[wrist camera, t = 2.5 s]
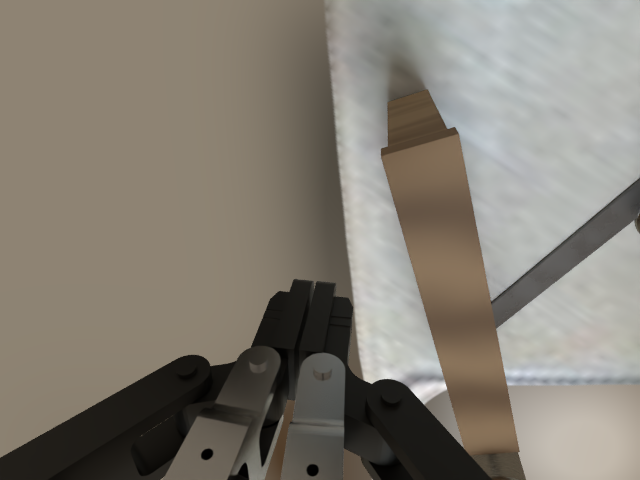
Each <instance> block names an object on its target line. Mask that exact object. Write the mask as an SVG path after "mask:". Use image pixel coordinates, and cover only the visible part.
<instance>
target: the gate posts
mask: <svg viewBox="0 0 640 480" xmlns="http://www.w3.org/2000/svg"><path fill="white" fill-rule="evenodd" d="M633 220H635V226H636V229H637V231H638V232H639V233H640V179H639V180H638V181H636V182H635V183H634V184H633V185H632V186H630V187H629V188H628V189H627V190H626V191H624V192H623V193H622V194H621V195H620V196H618V197H617V198H616V199H615V200H614V201H612V202H611V203H610V204H609V205H608V206H607V207H605V208H604V209H603V210H602V211H601V212H599V213H598V214H597V215H596V216H595V217H593V218H592V219H591V220H590V221H589V222H587V223H586V224H585V225H584V226H583V227H581V228H580V229H579V230H578V231H577V232H575V233H574V234H573V235H572V236H571V237H569V238H568V239H567V240H566V241H565V242H563V243H562V244H561V245H560V246H559V247H557V248H556V249H555V250H554V251H553V252H551V253H550V254H549V255H548V256H547V257H545V258H544V259H543V260H542V261H541V262H539V263H538V264H537V265H536V266H535V267H534V268H532V269H531V270H530V271H529V272H528V273H526V274H525V275H524V276H523V277H522V278H520V279H519V280H518V281H517V282H516V283H514V284H513V285H512V286H511V287H510V288H508V289H507V290H506V291H505V292H504V293H502V294H501V295H500V296H499V297H498V298H496V299H495V300H494V301H493V302H492V303H491V305H492V310H493V316H494V321H495V326H496V328H498V327H499V326H500V325H501V324H503V323H504V322H505V321H506V320H508V319H509V318H510V317H512V316H513V315H514V314H515V313H517V312H518V311H519V310H520V309H522V308H523V307H524V306H525V305H527V304H528V303H529V302H531V301H532V300H533V299H534V298H536V297H537V296H538V295H539V294H541V293H542V292H543V291H545V290H546V289H547V288H548V287H550V286H551V285H552V284H553V283H555V282H556V281H557V280H559V279H560V278H561V277H562V276H564V275H565V274H566V273H567V272H569V271H570V270H571V269H572V268H574V267H575V266H576V265H578V264H579V263H580V262H581V261H583V260H584V259H585V258H586V257H588V256H589V255H590V254H592V253H593V252H594V251H595V250H597V249H598V248H599V247H600V246H602V245H603V244H604V243H606V242H607V241H608V240H609V239H611V238H612V237H613V236H614V235H616V234H617V233H618V232H619V231H621V230H622V229H623V228H625V227H626V226H627V225H628V224H630V223H631V222H632V221H633ZM470 456H471V457H472V458H473V459H474V460H475V461H476V462H477V464H478V465H479V466H480V467H481V468H482V469H483V470H484V471H485V472H486V473H487V474H488V476H489V477H490V478H491V479H492V480H526V479H525V475H524V471H523V468H522V465H521V461H520V458H519V455H518V452H513V453H498V454H484V455H470Z"/></svg>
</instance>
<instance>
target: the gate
mask: <svg viewBox="0 0 640 480" xmlns="http://www.w3.org/2000/svg"><path fill="white" fill-rule="evenodd" d="M387 104H388V147H385V148H382V149H381V158H382V162H383V165H384V169H385V172H386V176H387V179H388V183H389V186H390V190H391V193H392V197H393V200H394V204H395V207H396V211H397V214H398V218H399V221H400V225H401V228H402V232H403V235H404V239H405V242H406V246H407V249H408V253H409V256H410V260H411V263H412V267H413V270H414V274H415V277H416V281H417V284H418V288H419V291H420V295H421V298H422V302H423V305H424V309H425V312H426V316H427V319H428V323H429V326H430V330H431V333H432V337H433V340H434V344H435V347H436V351H437V354H438V358H439V361H440V365H441V368H442V372H443V375H444V379H445V382H446V386H447V389H448V393H449V396H450V400H451V403H452V407H453V410H454V414H455V417H456V421H457V424H458V428H459V431H460V435H461V438H462V442H463V445H464V449H465V450H466V451H467V453H468V454H469V455H484V454H498V453H513V452H519V447H518V441H517V436H516V431H515V426H514V420H513V415H512V410H511V404H510V399H509V394H508V389H507V384H506V378H505V373H504V368H503V363H502V357H501V352H500V347H499V342H498V337H497V331H496V326H495V321H494V316H493V310H492V305H491V300H490V295H489V290H488V284H487V279H486V274H485V269H484V263H483V258H482V253H481V248H480V243H479V237H478V232H477V227H476V222H475V217H474V211H473V206H472V201H471V196H470V190H469V185H468V180H467V175H466V170H465V164H464V159H463V154H462V149H461V143H460V138H459V134H458V132H457V130H456V128H455V127H453V128H450V129H447V128H446V126H445V124H444V122H443V120H442V118H441V116H440V114H439V112H438V110H437V108H436V106H435V104H434V102H433V100H432V98H431V96H430V94H429V92H428V90H424V91H421V92H418V93H415V94H412V95H409V96H406V97H402V98H399V99H396V100H393V101H390V102H387Z"/></svg>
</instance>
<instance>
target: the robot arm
mask: <svg viewBox="0 0 640 480" xmlns="http://www.w3.org/2000/svg"><path fill="white" fill-rule="evenodd" d="M352 317H353V306H352V304H351V302H350V300H349V298H343V297H336V283H330V282H320V281H317V282H316V286H315V289H314V281H308V280H298V279H294V280H293V283H292V286H291V289H290V292H283V291H279V292H277V293H276V294H275V295H274V296H273V297H272V298H271V299H270V301H269V304H268V306H267V309H266V311H265V313H264V316H263V319H262V321H261V323H260V326H259V328H258V331H257V333H256V336H255V338H254V341H253V343H252V346H251V348H249V349H247V350H245V351H244V352H243V353H241V354H240V356H239V357H238V359H237V361H235V362H232V363H228V364H223V365H215V366H210V364H209V362H208V360H207V359H205V358H204V357H202V356H199V355H188V356H183V357H180V358H178V359H176V360H174V361H172V362H171V363H169V364H167V365H165V366H163V367H162V368H160V369H158V370H156V371H155V372H153V373H151V374H149V375H147V376H146V377H144V378H142V379H140V380H138V381H137V382H135V383H133V384H131V385H129V386H128V387H126V388H124V389H122V390H121V391H119V392H117V393H115V394H113V395H112V396H110V397H108V398H106V399H104V400H103V401H101V402H99V403H97V404H96V405H94V406H92V407H90V408H88V409H87V410H85V411H83V412H81V413H80V414H78V415H76V416H74V417H72V418H71V419H69V420H67V421H65V422H64V423H62V424H60V425H58V426H56V427H55V428H53V429H51V430H49V431H47V432H46V433H44V434H42V435H40V436H38V437H37V438H35V439H33V440H31V441H29V442H28V443H26V444H24V445H22V446H21V447H19V448H17V449H15V450H13V451H12V452H10V453H8V454H6V455H4V456H3V457H1V458H0V480H160V479H162V478H163V477H164V476H165V477H164V479H163V480H265V475H266V472H267V468H268V465H269V462H270V459H271V456H272V453H273V450H274V447H275V444H276V441H277V438H278V435H279V432H280V429H281V426H282V423H283V417H284V416H283V413H284V410H285V406H286V403H287V400H296V401H295V408H294V414H293V420H292V422H290V425H289V429H288V436H287V442H286V449H285V455H284V461H283V467H282V474H281V480H343V456H344V449H347V450H348V451H350V452H353V453H355V454H357V455H358V456H360V457H361V461H362V463H363V465H364V467H365V468H366V469H367V471H368V473H369V474H370V476H371V477H372V479H373V480H492V479H491V478H490V477H489V476H488V474H487V473H486V472H485V471H484V470H483V469H482V468H481V467H480V466H479V465H478V464H477V462H476V461H475V460H474V459H473V458H472V457H471V456H470V455H469V454H468V453H467V451H466V450H465V449H464V448H463V447H462V446H461V445H460V444H459V443H458V442H457V441H456V439H454V437H453V436H452V435H451V434H450V433H449V432H448V431H447V430H446V428H445V427H443V425H442V424H441V423H440V422H439V421H438V420H437V419H436V418H435V416H434V415H433V414H432V413H431V412H430V411H429V410H428V409H427V408H426V407H425V406H424V404H423V403H422V402H421V401H420V400H419V399H418V398H417V397H416V396H415V395H414V393H413V392H412V391H411V390H410V389H409V388H408V387H407V386H406V385H404V384H403V383H401V382H399V381H396V380H392V379H383V380H379V381H376V382H374V383H373V384H370V383H368V382H366V381H363V380H361V379H360V378H358V377H357V376H355V375H354V374H353V373H352V371H351V370H350V368H349V366H348V361H349V352H350V343H351V330H352ZM172 415H173V416H172ZM169 417H170V418H169ZM166 419H167V420H166ZM155 426H156V427H155ZM152 428H153V429H152ZM149 430H150V431H149ZM141 435H142V436H141Z"/></svg>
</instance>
